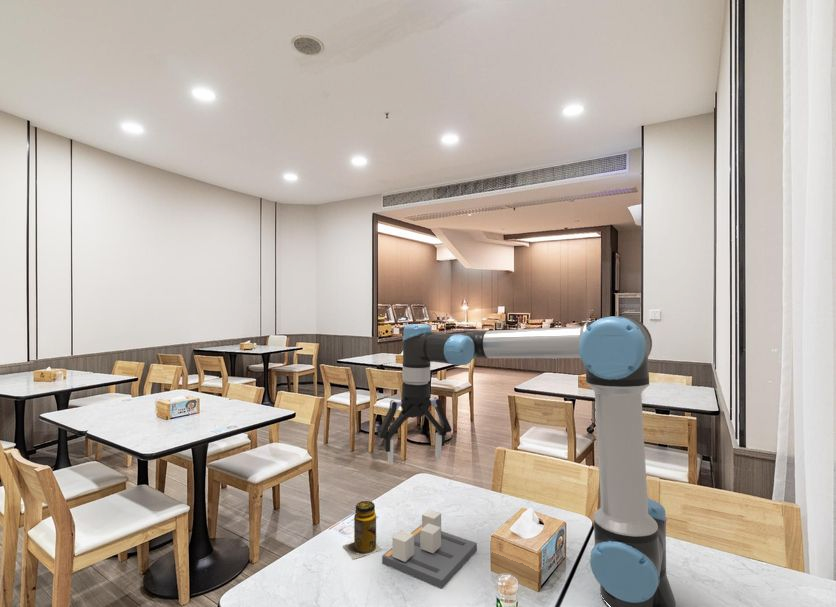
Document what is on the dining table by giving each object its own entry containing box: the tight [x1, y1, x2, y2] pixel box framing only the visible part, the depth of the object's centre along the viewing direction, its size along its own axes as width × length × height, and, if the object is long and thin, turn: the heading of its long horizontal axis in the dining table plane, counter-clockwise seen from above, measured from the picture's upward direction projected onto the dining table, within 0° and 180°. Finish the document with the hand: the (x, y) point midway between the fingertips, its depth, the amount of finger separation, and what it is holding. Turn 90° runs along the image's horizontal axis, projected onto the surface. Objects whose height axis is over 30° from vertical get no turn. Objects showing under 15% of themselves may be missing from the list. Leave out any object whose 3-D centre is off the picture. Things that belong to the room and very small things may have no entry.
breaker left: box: [391, 530, 414, 562], centre depth 110 cm, size 4×4×5 cm
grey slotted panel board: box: [381, 524, 478, 590], centre depth 113 cm, size 18×19×2 cm
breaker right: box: [421, 508, 442, 528], centre depth 121 cm, size 4×4×5 cm
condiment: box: [342, 500, 382, 560], centre depth 117 cm, size 7×8×12 cm
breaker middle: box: [420, 523, 442, 553], centre depth 113 cm, size 4×4×5 cm
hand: (414, 460), depth 114 cm, fingers open, 13 cm apart
